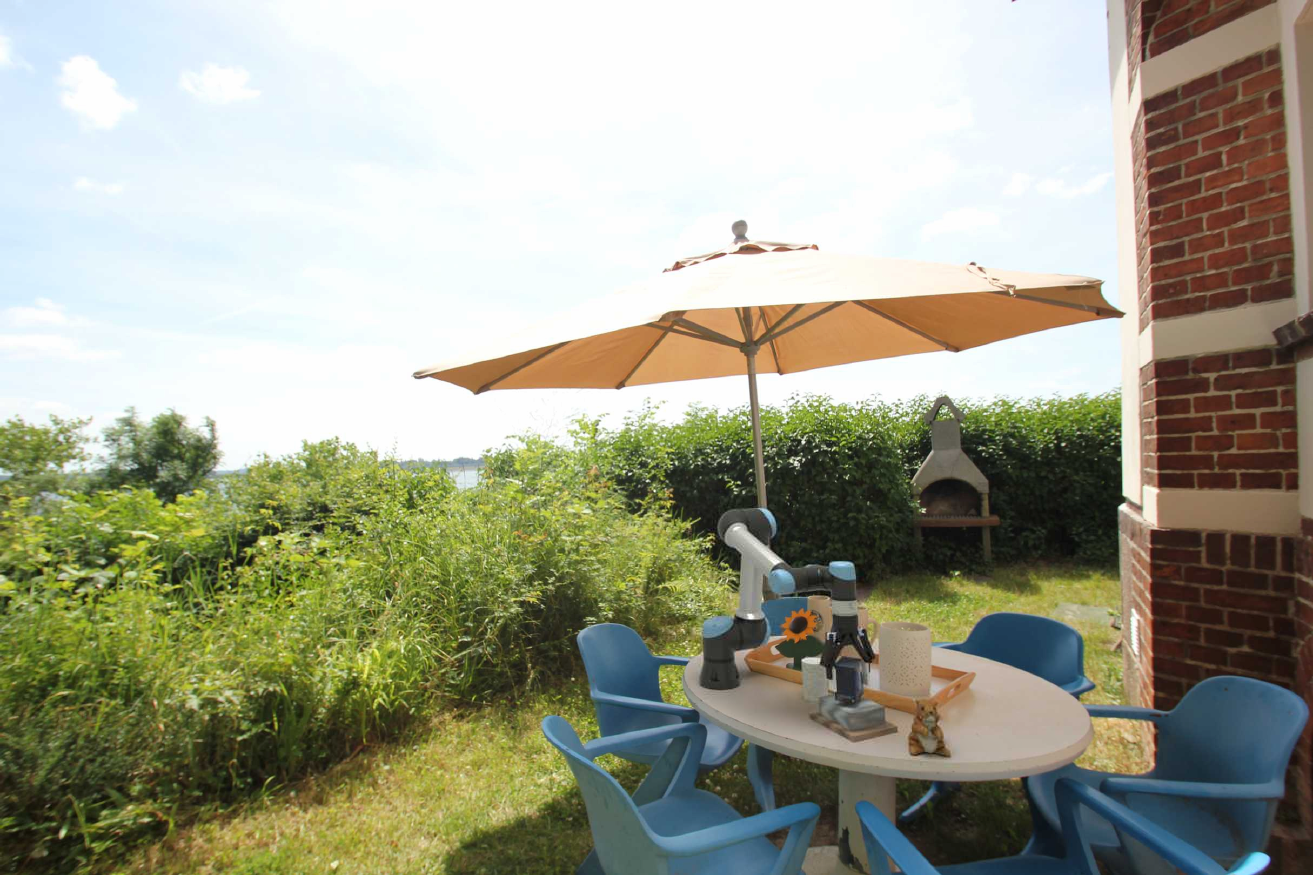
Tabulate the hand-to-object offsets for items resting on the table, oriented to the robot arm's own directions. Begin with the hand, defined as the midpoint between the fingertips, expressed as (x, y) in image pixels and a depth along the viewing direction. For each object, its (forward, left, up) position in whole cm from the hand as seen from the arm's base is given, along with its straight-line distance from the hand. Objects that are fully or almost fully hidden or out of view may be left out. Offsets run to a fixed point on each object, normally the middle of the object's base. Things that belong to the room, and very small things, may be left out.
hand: (849, 687), depth 174 cm
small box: (0, 0, -3) cm, 3 cm away
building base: (0, 0, -11) cm, 11 cm away
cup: (-24, +5, -11) cm, 27 cm away
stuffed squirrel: (+21, +8, -11) cm, 25 cm away
